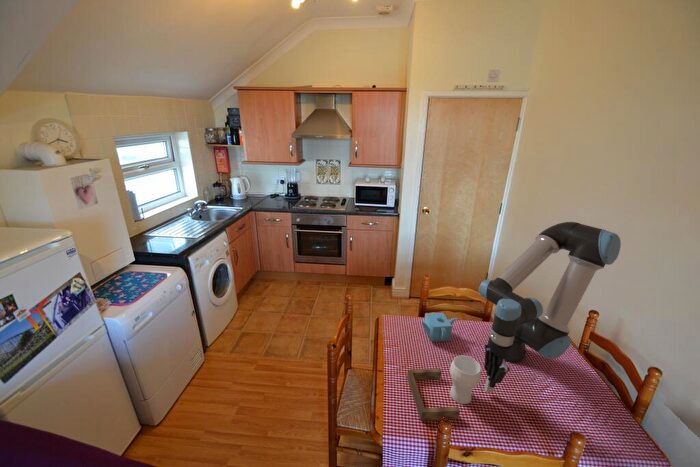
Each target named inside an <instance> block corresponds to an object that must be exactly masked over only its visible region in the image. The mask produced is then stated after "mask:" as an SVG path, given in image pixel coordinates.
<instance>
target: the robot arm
mask: <svg viewBox="0 0 700 467" xmlns="http://www.w3.org/2000/svg"><path fill="white" fill-rule="evenodd" d="M621 242H622V241H621V238H620V236H619V235H618V234H617V233H615V232H612V231H609V230H606V229H604V228H603V229H602V228H599V227H594V226H591V225H587V224H584V223H583V224H582V223H581V222H580V223H579V222H577V221H565V222H560V223H559V222H558V223H557V224H554V225H552V226H549V227H548V228H546V229H545V230H543V231H541V232H540V233H539V234H537V236H536V237H535V241H534V242H533V243H532V244H531V245H530V246H529V247H528V248H526V250H525V251H524V252H522V253H521V254H520V255H519V256H518V257H517V258H516V259H515V260H514V261H513V262H512V263H511V264H510V265H509V266H508V267H507V268H506V269H505V270H504V271H503V272H501V273H500V274H499V275H498V276H497V277H496V278H495V279H494V280H492V279H484V280H483V281H481V283H480V285H479V287H478V293H479V295H480V296H481V297H482V298H483V299H485V300H486V301H488V302H489V303H492V304H493V305H495V309H494V315H493V322H492V325H491V330H490V334H489V337H488V342H487V344H484V350H485V352H484V353H485V354H484V367H483V368H484V371H485V372H486V377H485V384H484V388H483V389H484V391H485V393H493V392H494V390H495V387H496V384H501V383H502V382H503V380H504V378H505V376H506V375H507V372H509V371H510V370H511V369H510V367H509V366H507V362H510V363H520V362H522V361H524V360H525V358H526V355H527V351H526V346H527V347H529V348H531V349H532V350H534V351H535V352H536V353H538V354H539V355H541V356H543V357H544V358H546V359H548V360H556V359H558V358H560V357H561V356H562V355H564V354H565V353H566V351H567V350H568V349H569V348H570V347H571V344H572V338H571V337H570V336H569V334H570V329H569V326H568V325H569V323H570V321H571V319H572V318H573V315H574V314H575V312H576V310H577V308H578V306H579V304H580V303H581V300H582V299H583V296H584V295H585V293H586V291H587V290H588V287H589V285H590V284H591V282H592V280H593V278H594V275H596V272H597V271H599V270H602V269H604V268H605V265H606V266H607V265H608V266H610V265H612V264H614V263H615V261H617V259H618V256H619V254H620V251H621V245H622V243H621ZM560 250H565V251H568V252H569V253H568V255H567V257H568V258H569V263H568V265H567V266H566V268H565V271H564V273H563V274H562V277H561V279H560V281H559V283H558V284H557V286H556V288H555V291H554V293H553V295H552V296H551V298H550V299H549V302H548V304H547V306H546V308H545V310H544V307H543V304H542V303H541V302H540V301H539V300H538V299H537V298H535V297H523V296H521V295H519V294H517V293H515V292H514V291H515V290H516V288H518V287H519V286H520V285H521V284H522V283H523V282H524V281H525V280H526V279H527V278H528V277H529V276H530V275H531V274H532V273H533V272H534V271H535V270H537V269H538V267H540V266H541V265H542V264H543V262H545V261H546V260H547V259H548V258H549V257H550V256H551V255H553V254H557V253H558V252H560Z"/></svg>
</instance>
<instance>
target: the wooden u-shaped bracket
mask: <svg viewBox="0 0 700 467" xmlns="http://www.w3.org/2000/svg"><path fill="white" fill-rule="evenodd" d="M442 371H443V370H441V368H425V369H424V368H423V369H408V370H407V373H406V379H407V383H408V385H409V388H410V392H411V395H412V399H413V401H414V405H415V406H416V407H415V408H416V411H417V414H418V416H419V419H420V421H421V422H425V421H440V420H439V419H440V418H443V417H444V418H447V419H449V420H458V419H459V417H460V412H461V410H460V408H459V407H458V406H448V407H447V406H446V407H445V406H444V407H428V408H425V405H424V402H423V399H422V396H421V393H420V390H419V388H418V384H417V382H416V381H431V380H432V381H433V380H434V381H435V380H441V379H442V378H441V377H442V373H443V372H442Z"/></svg>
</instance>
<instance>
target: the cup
mask: <svg viewBox="0 0 700 467" xmlns="http://www.w3.org/2000/svg"><path fill="white" fill-rule="evenodd" d="M449 373H450V377H451V378H450V379H451V381H452V386H451V389H450V390H449V394H450V397H451V399H452V400H454V402H456V403H458V404H460V405H468V404H470V402H472V391H473V390H474V389H475V388H476V387H477V386H478V384H479V383H480V382H481V377H482V368H481V365H480V363H479V362H478V361H477V360H476V359H475V358H473V357H471V356H468V355H463V354H462V355H461V354H460V355H457V356H455V357H454V359H453V360H452V362H451V364H450V368H449Z"/></svg>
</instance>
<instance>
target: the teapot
mask: <svg viewBox="0 0 700 467" xmlns="http://www.w3.org/2000/svg"><path fill="white" fill-rule="evenodd" d="M457 320H458V317H452V318H451V319H450V320H449V319H448V318H447V316H446V315H445V314H444V312H431V313H425V314H424V321H421V322H420V324H422V326H423V328H424V332H425V333H426V334H427V336H428V338H429V340H430V342H433V343H434V342H446V341H447V342H450V341H451V335H452V329H453V324H454V323H455V321H457Z"/></svg>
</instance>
